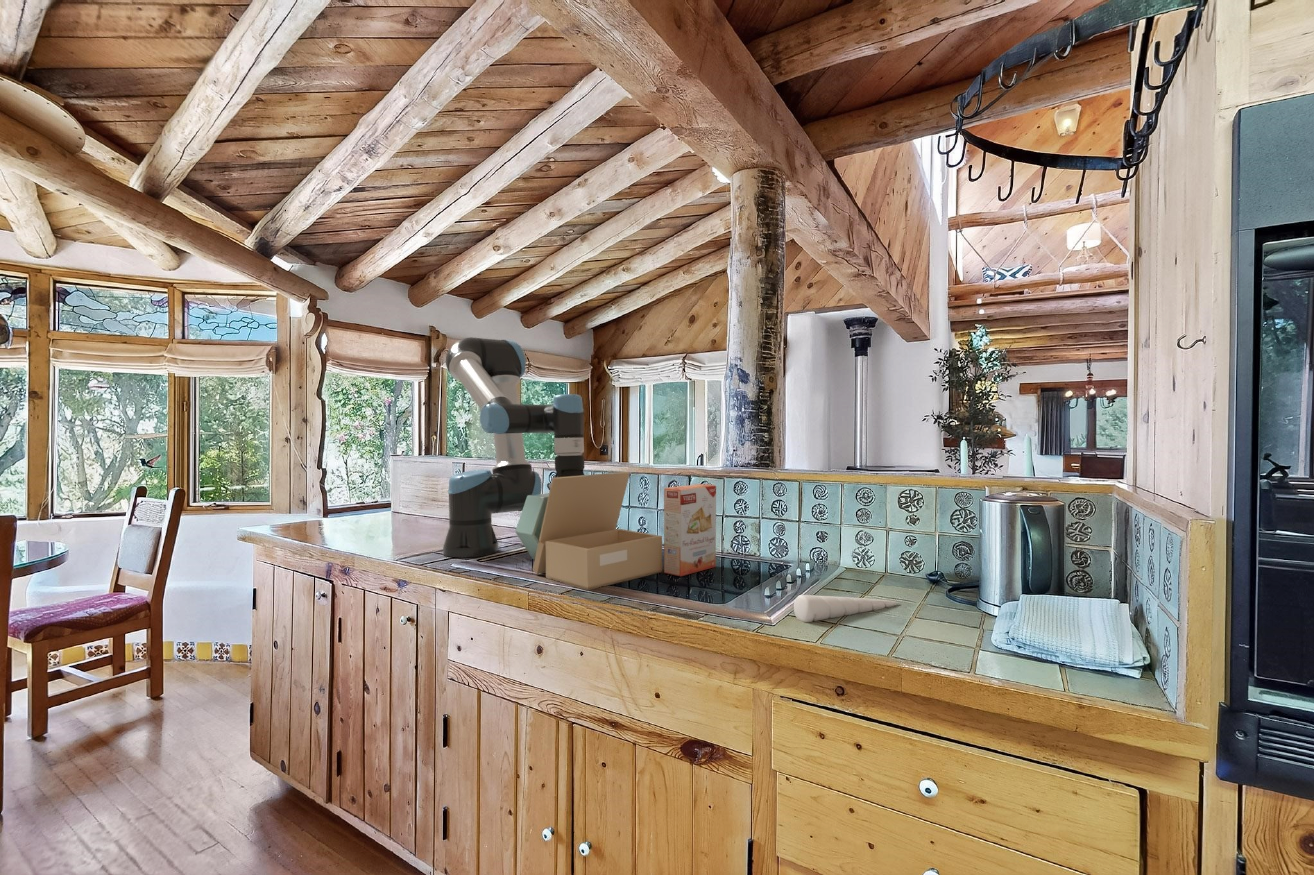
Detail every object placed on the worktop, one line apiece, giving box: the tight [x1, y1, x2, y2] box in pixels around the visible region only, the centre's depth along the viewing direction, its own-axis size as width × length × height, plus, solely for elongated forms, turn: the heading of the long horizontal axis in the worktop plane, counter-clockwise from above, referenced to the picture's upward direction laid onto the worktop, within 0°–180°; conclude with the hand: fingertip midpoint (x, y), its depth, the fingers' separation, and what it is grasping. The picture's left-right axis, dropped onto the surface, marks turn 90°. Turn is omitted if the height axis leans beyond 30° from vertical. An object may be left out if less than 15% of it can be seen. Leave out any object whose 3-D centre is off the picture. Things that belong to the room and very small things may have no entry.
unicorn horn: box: [793, 594, 900, 623], centre depth 113 cm, size 5×24×5 cm, turn 110°
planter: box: [514, 492, 549, 560], centre depth 164 cm, size 17×8×21 cm
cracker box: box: [663, 483, 717, 577], centre depth 148 cm, size 14×6×21 cm, turn 137°
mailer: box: [545, 528, 663, 591], centre depth 144 cm, size 16×23×9 cm
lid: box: [532, 471, 631, 575], centre depth 150 cm, size 25×24×2 cm
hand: (571, 546), depth 154 cm, fingers closed
